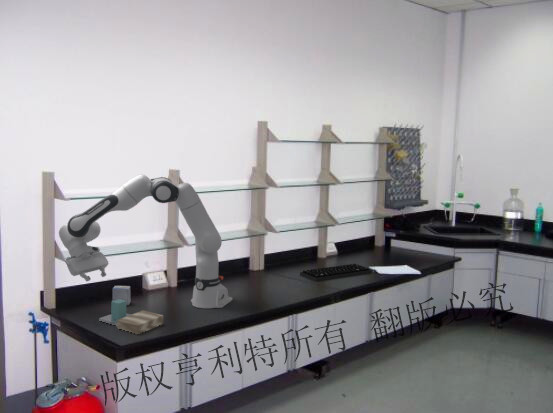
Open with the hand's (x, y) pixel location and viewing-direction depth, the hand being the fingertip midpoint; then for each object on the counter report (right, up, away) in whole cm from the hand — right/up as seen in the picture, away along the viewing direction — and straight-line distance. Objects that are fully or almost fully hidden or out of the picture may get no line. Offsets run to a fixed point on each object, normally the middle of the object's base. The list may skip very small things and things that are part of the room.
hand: (96, 278), depth 256 cm
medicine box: (+6, -15, +19) cm, 25 cm away
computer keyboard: (+120, -10, +93) cm, 152 cm away
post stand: (+11, -19, -4) cm, 22 cm away
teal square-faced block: (+11, -17, -4) cm, 21 cm away
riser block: (+23, -20, -10) cm, 32 cm away
